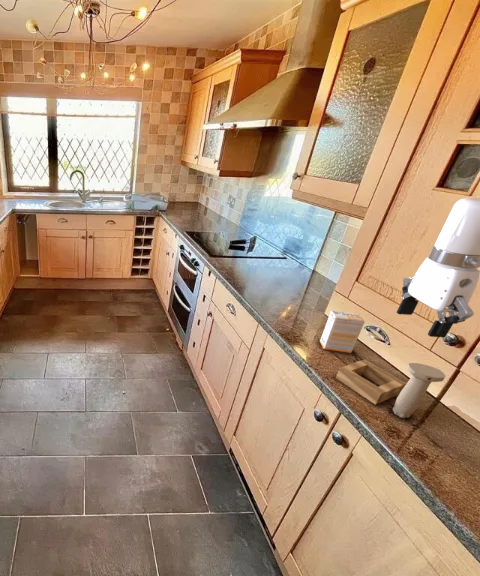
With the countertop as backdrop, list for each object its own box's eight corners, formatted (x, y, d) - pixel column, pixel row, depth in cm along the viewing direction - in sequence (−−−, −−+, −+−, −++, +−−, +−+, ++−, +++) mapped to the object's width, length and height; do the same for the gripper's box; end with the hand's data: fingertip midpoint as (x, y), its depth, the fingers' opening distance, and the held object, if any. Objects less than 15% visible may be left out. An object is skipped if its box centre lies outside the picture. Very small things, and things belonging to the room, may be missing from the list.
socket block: (359, 369, 97) (364, 359, 95) (401, 393, 87) (407, 383, 85) (335, 378, 93) (339, 367, 91) (375, 404, 84) (381, 393, 82)
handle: (420, 425, 78) (449, 380, 71) (387, 416, 80) (413, 372, 74) (412, 411, 82) (439, 367, 75) (381, 403, 84) (405, 360, 78)
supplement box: (345, 345, 107) (359, 313, 101) (351, 353, 103) (366, 321, 97) (318, 341, 110) (330, 309, 104) (323, 349, 106) (335, 317, 100)
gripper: (518, 274, 58) (470, 347, 66) (440, 245, 73) (409, 307, 81) (472, 273, 59) (430, 345, 67) (404, 244, 74) (377, 305, 82)
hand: (419, 324), depth 74 cm, fingers open, 9 cm apart
